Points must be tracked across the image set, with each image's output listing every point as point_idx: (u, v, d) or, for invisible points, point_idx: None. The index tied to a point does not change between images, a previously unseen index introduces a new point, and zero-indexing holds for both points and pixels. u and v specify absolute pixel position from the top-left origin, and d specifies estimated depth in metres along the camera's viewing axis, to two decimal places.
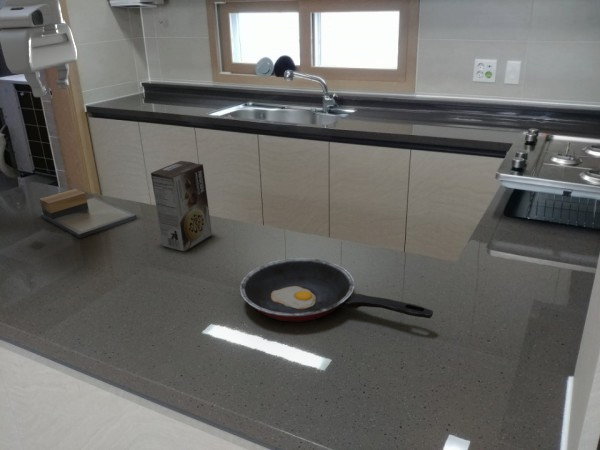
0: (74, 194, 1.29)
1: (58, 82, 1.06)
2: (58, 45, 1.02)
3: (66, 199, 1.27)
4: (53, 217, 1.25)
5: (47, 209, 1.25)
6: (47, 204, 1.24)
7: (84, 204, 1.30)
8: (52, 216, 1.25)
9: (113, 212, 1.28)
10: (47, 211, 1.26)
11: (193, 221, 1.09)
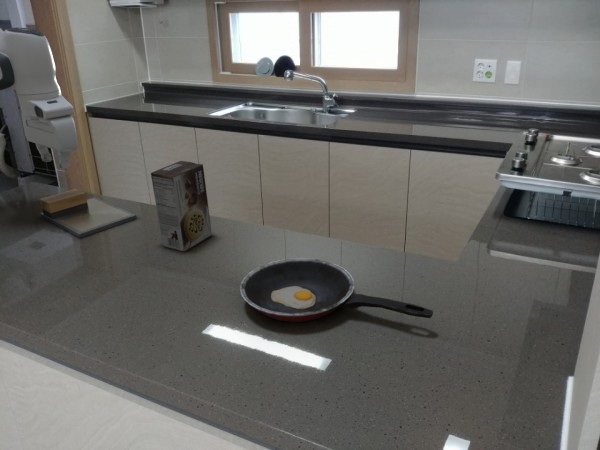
0: (74, 194, 1.29)
1: (45, 157, 1.27)
2: None
3: (66, 199, 1.27)
4: (53, 217, 1.25)
5: (47, 209, 1.25)
6: (47, 204, 1.24)
7: (84, 204, 1.30)
8: (52, 216, 1.25)
9: (113, 212, 1.28)
10: (47, 211, 1.26)
11: (193, 221, 1.09)
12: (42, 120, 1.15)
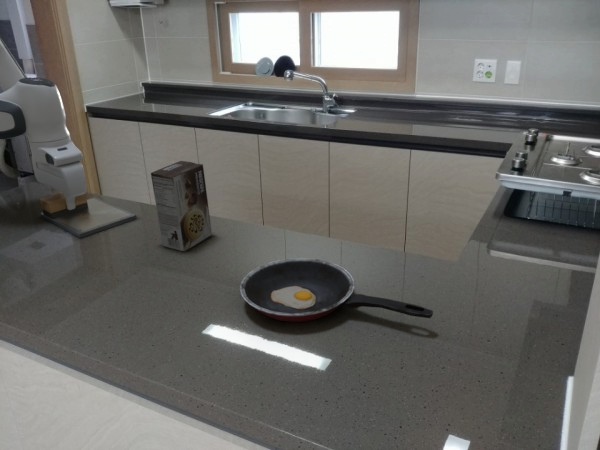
0: None
1: None
2: None
3: None
4: (53, 217, 1.25)
5: (47, 209, 1.25)
6: (47, 204, 1.24)
7: (84, 204, 1.30)
8: (52, 216, 1.25)
9: (113, 212, 1.28)
10: (47, 211, 1.26)
11: (193, 221, 1.09)
12: (52, 166, 1.19)
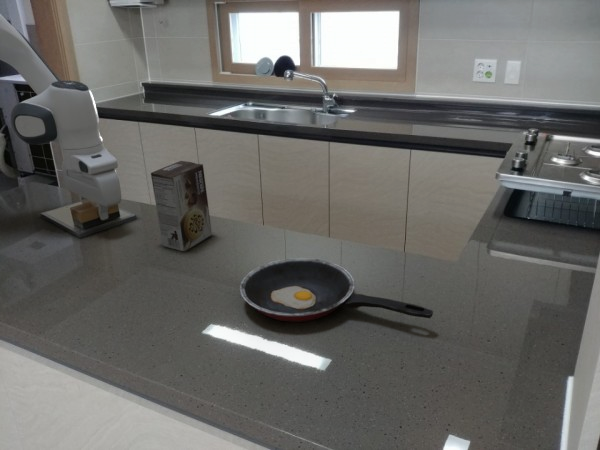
0: None
1: None
2: None
3: (98, 208, 1.20)
4: (84, 227, 1.19)
5: (78, 218, 1.19)
6: (78, 213, 1.18)
7: (116, 212, 1.24)
8: (83, 226, 1.19)
9: None
10: (78, 220, 1.19)
11: (193, 221, 1.09)
12: (86, 175, 1.13)
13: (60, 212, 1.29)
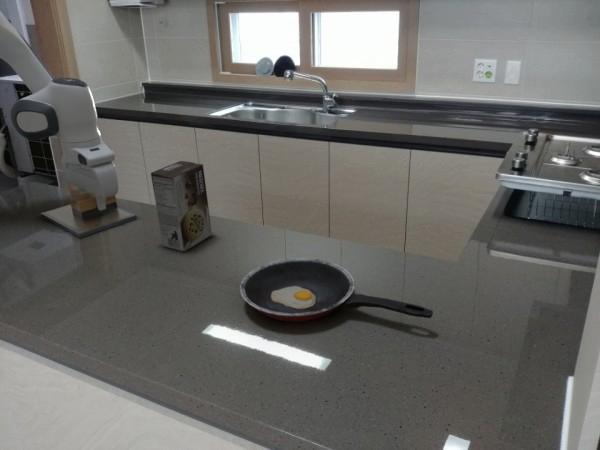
0: None
1: None
2: None
3: (96, 198, 1.26)
4: (83, 216, 1.25)
5: (77, 208, 1.25)
6: (77, 203, 1.24)
7: (113, 203, 1.30)
8: (82, 215, 1.25)
9: (113, 212, 1.28)
10: (77, 210, 1.26)
11: (193, 221, 1.09)
12: (85, 167, 1.19)
13: (60, 212, 1.29)
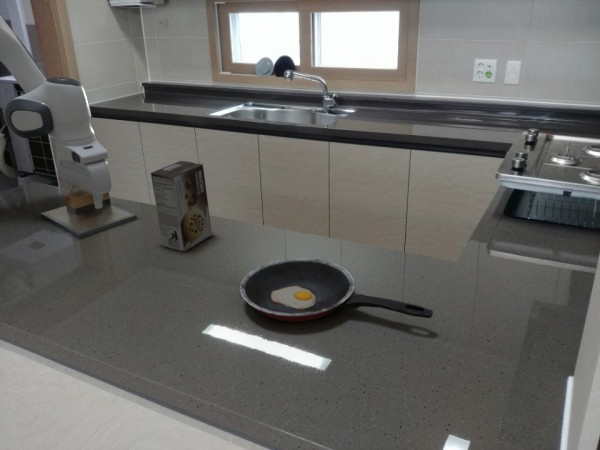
0: None
1: None
2: None
3: (90, 195, 1.29)
4: (77, 213, 1.27)
5: (71, 205, 1.27)
6: (71, 200, 1.26)
7: (107, 200, 1.32)
8: (76, 212, 1.27)
9: (113, 212, 1.28)
10: (71, 207, 1.28)
11: (193, 221, 1.09)
12: (78, 164, 1.22)
13: (60, 212, 1.29)
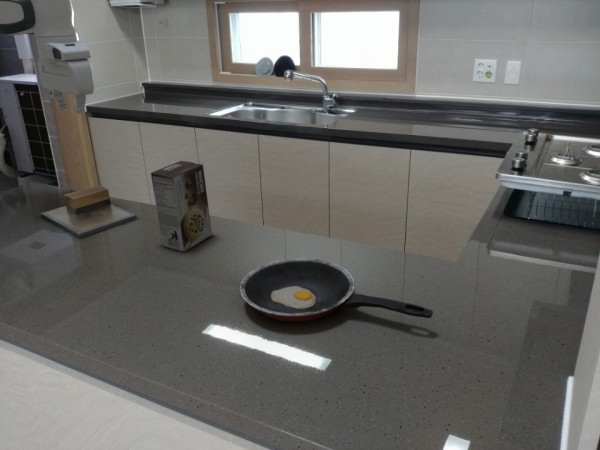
0: (97, 190, 1.31)
1: (60, 104, 1.28)
2: None
3: (90, 195, 1.29)
4: (77, 213, 1.27)
5: (71, 205, 1.27)
6: (71, 200, 1.26)
7: (107, 200, 1.32)
8: (76, 212, 1.27)
9: (113, 212, 1.28)
10: (71, 207, 1.28)
11: (193, 221, 1.09)
12: (60, 63, 1.16)
13: (60, 212, 1.29)
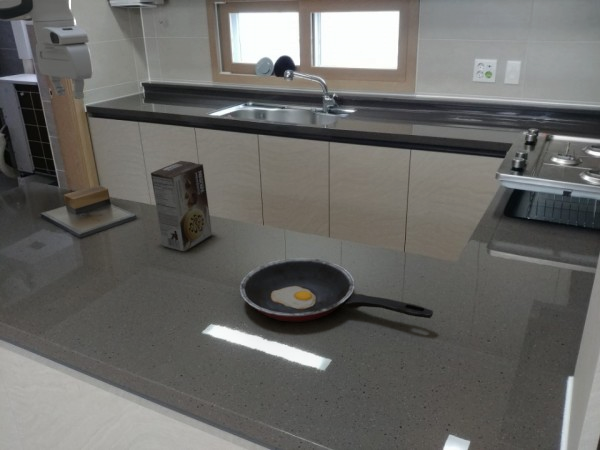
0: (97, 190, 1.31)
1: (59, 90, 1.28)
2: None
3: (90, 195, 1.29)
4: (77, 213, 1.27)
5: (71, 205, 1.27)
6: (71, 200, 1.26)
7: (107, 200, 1.32)
8: (76, 212, 1.27)
9: (113, 212, 1.28)
10: (71, 207, 1.28)
11: (193, 221, 1.09)
12: (57, 47, 1.16)
13: (60, 212, 1.29)
